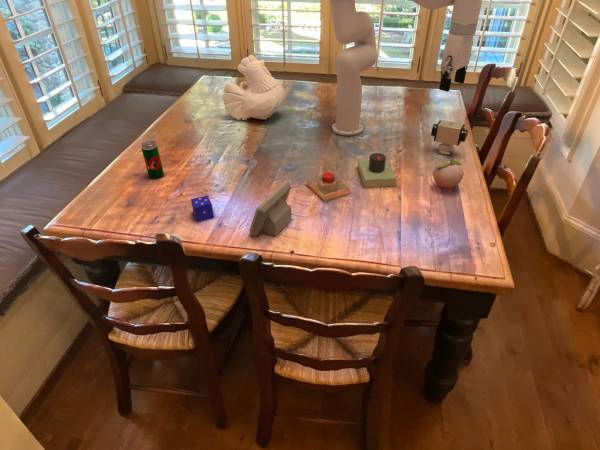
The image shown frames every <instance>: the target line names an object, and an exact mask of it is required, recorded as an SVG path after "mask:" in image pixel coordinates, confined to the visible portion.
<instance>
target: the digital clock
mask: <svg viewBox="0 0 600 450" xmlns="http://www.w3.org/2000/svg"><path fill="white" fill-rule="evenodd" d="M291 189H292V185H291V183H290V182H289V181H285V182H283V183H281V184H280V185H279V186H278V187H277V188H276V189H275V190H274V191H273V192H271V194H269V196H267V197H266V198H265V199H264V200H263V201H262V202H260V204H259V205H258V206H257V207H256V209H255V211H254V214H253V218H252V220H251V223H250V227H249V234H250V236H253V237H255V236H256V237H257V236H258V235H259V234H261V232H262V233H265V234H268V235H272V236H273V237H277V235H278V234H279V233H280V232H281V231H282V230H284V228H285V227H286V226H287V225H288V224H289V223H290V222H291V220H292V208H291V207H292V206H291V205H289V204H288V203H287V200H288V197H289V195H290V192H291Z"/></svg>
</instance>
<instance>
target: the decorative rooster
mask: <svg viewBox="0 0 600 450" xmlns="http://www.w3.org/2000/svg"><path fill="white" fill-rule="evenodd" d="M265 62H266V61H265V59H261V60H258V59H257V58H256V56H255V55H253V54H249V55H248V56H247V57H243V58H242V59H241V61H240V63H239V64H238V65H237V71H238V72H239V73H240V74H242V75H243V76H244V77H245V80H242V81H241V82H240V83H239V85H238V84H235V83H233V82H230V81H228V82H227V83H226V84H225V86H224V88H223V91H224V92H223V94H222V102H223V105H224V110H225V112H226V113H228V115H230V116H231V117H232V118H234V119H235V118H248V119H236V120H237V121H240V120H242V121H247V120H249V119H250V118H253V119H256V120H257V119H258V120H268V119H269V118H270V117H271V116H272V115H273V114H274V113H275V112H276V111H278V109H280V108H281V107H283V106H284V105H285V103H286V91H285V89H284V87H283V86H282V84H281V83H280V82H279V80H277V79H276V78H275V77H273V76H272V73H271V72H270V71H269V70H268V68H267V66H265V65H266V64H265ZM244 85H246V86H247V89H245V88H243V87H244ZM267 118H268V119H267Z"/></svg>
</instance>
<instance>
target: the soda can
mask: <svg viewBox="0 0 600 450" xmlns="http://www.w3.org/2000/svg"><path fill="white" fill-rule="evenodd" d="M140 148H141V152H142V156H143V160H144V164H145V167H146V171H147V176H148V177H149V178H150V179H152V180H153V179H154V180H156V179H161V178H162V177H163V175H164V174H165V173H164V169H163V163H162V160H161V155H160V151H159V146H158V144H156V142H155V141H154V140H147V141H144V142H142V144H141V147H140Z"/></svg>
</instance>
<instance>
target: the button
mask: <svg viewBox="0 0 600 450" xmlns="http://www.w3.org/2000/svg"><path fill="white" fill-rule="evenodd" d="M322 174H323V175H322ZM322 174H321V175H322V180H323V181H324V182H332V181H334V175H335V174H334V173H333V172H332V171H331V172H329V171H327V172H323V173H322Z"/></svg>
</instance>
